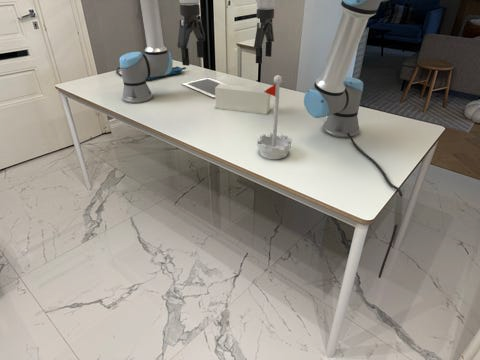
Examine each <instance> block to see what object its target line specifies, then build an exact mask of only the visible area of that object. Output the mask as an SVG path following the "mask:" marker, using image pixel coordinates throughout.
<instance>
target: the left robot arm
mask: <svg viewBox="0 0 480 360" xmlns="http://www.w3.org/2000/svg"><path fill="white" fill-rule="evenodd" d="M139 2H140V8H141V16H142V20H143V21H142V22H143V28H144V36H145V42H146V47H145V49H144V53H142V52H141V51H131V52H127V53H125V54H122V55H121V56H120V57H119V66H118V67H116V71H115V72H116V74H117V75H118V76H119V77H122V82H123V90H122V100H123V101H124V102H125V103H128V104H140V103H145V102H148V101H150V100H151V99H153V95H152V92H151V90H150V88H149V85H148V84H147V79H146V78H147V77H154V76H160V75H162V76H161V77H164V76H163V75H166V74H169V73H170V72H171V70H172V67H173V66H174V65H173V64H174V62H173V57H172V53H171V52H170V51H168V48H167V47H166V46H165V45H164V37H163V29H162V21H161V20H162V19H161V13H160V12H161V11H160V4H159V0H139ZM178 2H179V14H180V16H181V17H183V19H179V30H178V36H177V37H178V39H177V44H176V45H177V48H178V49H180V50H181V51H180V52H181V62H182V66H190V53H189V48H188V45H189V40H190V37H191V33H193V34H194V36H195V38H196V41H195V42H196V56H197V58H201V59H203V58H205V51H204V42H205V41H206V33H205V29H204V27H203V23H202V17H201V15H200V14H201V9H200V8H201V7H200V0H178ZM119 70H120V72H121V73H120V72H118V71H119ZM166 76H167V75H166Z"/></svg>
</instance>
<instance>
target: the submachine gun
mask: <svg viewBox="0 0 480 360" xmlns="http://www.w3.org/2000/svg"><path fill="white" fill-rule="evenodd" d="M183 70H187V67H186V66H183V67H180V66H172V70H171V72H170V73H169V74H166V75H163V76H162V75H160V76H154V77H147V78H146V81H148V80H150V81H152V80H153V79H157V78H160V77H166V76H170V75H176V74H180V73H181V72H183Z"/></svg>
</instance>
